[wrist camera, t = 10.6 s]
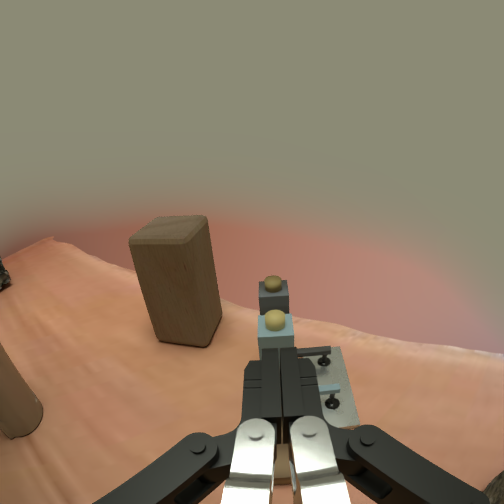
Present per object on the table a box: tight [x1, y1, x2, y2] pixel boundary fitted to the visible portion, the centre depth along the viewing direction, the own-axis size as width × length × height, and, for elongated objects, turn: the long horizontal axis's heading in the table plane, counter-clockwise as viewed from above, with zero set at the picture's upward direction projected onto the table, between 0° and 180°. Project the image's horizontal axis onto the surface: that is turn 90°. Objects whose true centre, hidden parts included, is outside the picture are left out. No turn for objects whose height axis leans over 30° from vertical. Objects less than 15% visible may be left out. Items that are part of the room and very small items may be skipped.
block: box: [129, 215, 222, 347], centre depth 49 cm, size 10×10×20 cm
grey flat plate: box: [303, 346, 360, 429], centre depth 38 cm, size 15×6×1 cm, turn 178°
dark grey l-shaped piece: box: [259, 276, 331, 485], centre depth 32 cm, size 22×10×16 cm, turn 178°
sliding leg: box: [258, 310, 341, 399], centre depth 32 cm, size 4×10×15 cm, turn 88°
